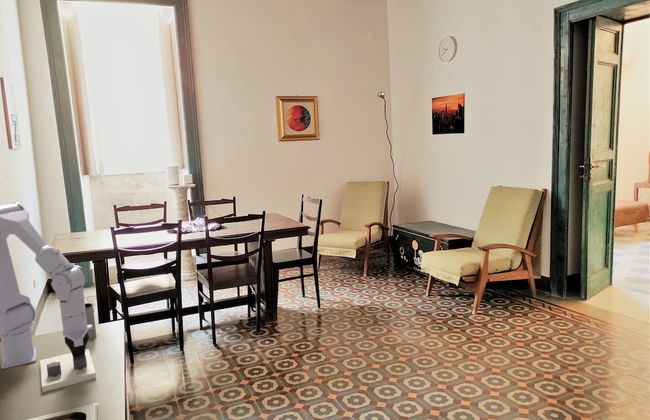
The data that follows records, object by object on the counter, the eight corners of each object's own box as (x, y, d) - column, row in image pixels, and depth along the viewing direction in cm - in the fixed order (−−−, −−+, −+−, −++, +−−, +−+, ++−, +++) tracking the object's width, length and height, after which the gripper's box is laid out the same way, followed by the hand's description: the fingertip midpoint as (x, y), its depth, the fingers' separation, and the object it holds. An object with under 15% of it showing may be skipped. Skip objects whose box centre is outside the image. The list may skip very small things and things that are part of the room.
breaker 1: (47, 373, 124) (46, 364, 124) (60, 370, 126) (59, 361, 125) (48, 376, 122) (46, 367, 122) (61, 373, 124) (60, 364, 123)
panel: (40, 365, 132) (40, 359, 132) (89, 353, 138) (88, 348, 138) (42, 392, 119) (41, 386, 118) (96, 378, 125) (95, 372, 124)
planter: (90, 341, 146) (86, 309, 144) (76, 340, 147) (72, 308, 145) (99, 334, 150) (96, 303, 149) (86, 333, 151) (83, 302, 149)
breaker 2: (73, 366, 127) (72, 357, 127) (86, 363, 129) (85, 354, 129) (74, 369, 126) (73, 360, 125) (87, 366, 127) (86, 357, 127)
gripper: (93, 318, 123) (99, 368, 125) (87, 301, 135) (92, 347, 137) (62, 325, 119) (68, 376, 121) (58, 307, 131) (64, 353, 134)
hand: (79, 361), depth 129 cm, fingers closed
